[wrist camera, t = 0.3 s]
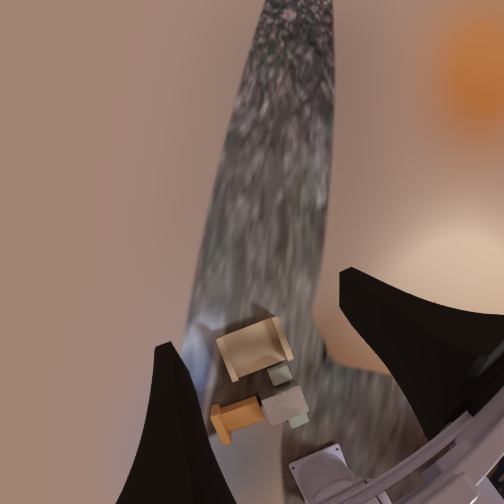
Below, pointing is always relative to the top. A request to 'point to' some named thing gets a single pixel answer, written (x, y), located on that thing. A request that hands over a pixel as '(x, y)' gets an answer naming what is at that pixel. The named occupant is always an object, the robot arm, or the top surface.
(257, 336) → the tan flat bracket
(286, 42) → the top surface
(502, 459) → the canister
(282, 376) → the socket
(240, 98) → the top surface
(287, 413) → the grey block
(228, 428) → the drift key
